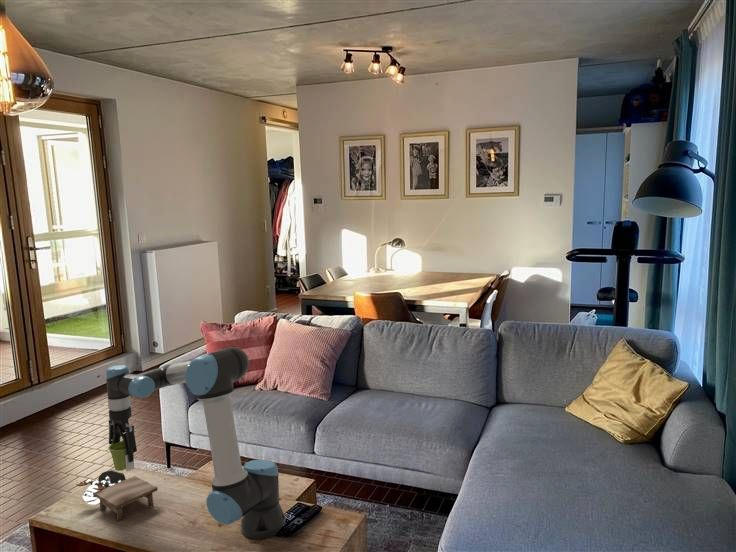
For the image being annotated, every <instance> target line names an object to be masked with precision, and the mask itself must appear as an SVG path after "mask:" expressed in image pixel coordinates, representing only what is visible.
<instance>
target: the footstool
mask: <svg viewBox="0 0 736 552" xmlns="http://www.w3.org/2000/svg"><path fill="white" fill-rule="evenodd" d="M125 479H126V480H124V481H121V482H119V483H116V484H114V485H112V486H109V487H107V488H105V489H103V490H99V491H97V492H95V493H94V496H95V497H97V498H99V499H100V503H99V507H100V508H99V509H100V512H105V511H106V510H107V508H108V509H109V510H111V511H113V512H115V513H116V521H117V522H121V521H123V507H124V506H126V505H128V504H131V503H133V502H135V501H136V500H139V499H142V498H143V497H144V498H146V499H147V507H148V506H149V507H148V508H151V506H152V507H153V506H154V495H153V493H156V492H157V491H158V487H157V486H155V485H153V484H152V483H150V482H148V481H145V480H143V479H142V478H140V477H138V476H135V475H134V476H131V477H129V478H125Z"/></svg>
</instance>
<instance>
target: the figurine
mask: <svg viewBox="0 0 736 552" xmlns="http://www.w3.org/2000/svg"><path fill="white" fill-rule="evenodd" d="M126 479H127V478H126V476H125V474H124V473H123V472H121V471H116V470H115V471H114V470H111V469H110V470H107V471H103V472H101V473H100V475H99V476H98V478H97V479H95V480H92V479H90V478H88V479H87V481H86V480H84V481H83V482H82V481H80V483H76V486H77V487H86V486H87V485H89V484H90V485H89V486H88V487H87V488H86V489H85V490H84V492H83V494H82V499H83V502H84V503H86V504H88V505H91V506H93V505H97V504H100V499H99V498H97V497H95V496H94V493H95V492H97V491H99V490H103V489H105V488H107V487H109V486H112V485H114V484H116V483H119V482H121V481H124V480H126Z"/></svg>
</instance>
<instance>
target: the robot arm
mask: <svg viewBox="0 0 736 552" xmlns="http://www.w3.org/2000/svg"><path fill="white" fill-rule="evenodd" d="M249 368H250V359H249V357H248V355H247V353H246V352H245V351H244V350H243V349H241V348H239V347H235V346H234V347H232V346H231V347H225V348H222V349H218V350H215V351H211V352H209V353H204V354H201V355H200V356H197V357H195V358H193V359H191V360H187V361H184V362H179V363H171V364H167V365H164V366H159V367H158V368H155V369H151V370H148V371H144V372H140V373H137V374H134V373H130V371H129V367H128V366H127V365H123V364H121V365H119V364H118V365H114V366H109V367H108V368H107V369H106V371H105V372H106V375H105V376H106V378H105V381H106V391H107V393H106V394H107V406H108V409H109V410H108V445H111V444H115V443H118V442H120V441H121V438H122V441H123V442H124V446H125V449H126V454H125V459H126V469H125V470H126V472H129V471H132V470H135V459H134V458H135V457H134V456H135V455H133V453H134V454H135V453H136V452H138V451H137V450H138V448H137V442H136V436H135V426H134V424H132V425H131V424H130V421H129V419H130V418H131V417H132V415H133V414H132V407H131V405H132V403H131V398H132V397H134V398H142V399H144V398H148V397H150V395H151V394H153V393H154V391H157V390H159V389H163V388H165V387H166V388H167V387H171V386H174V385H180V384H186V386H187V388H188V389H189V391H190V393H192V394H193V395H195V396H196V400H198V401H199V402H201V403H202V405H203V411H204V417H205V418H204V419H205V424H206V428H207V430H206V431H207V435H208V442H209V446H210V453H211V458H212V465H213V471H214V476H213V478H212V479H211V481H210V484H211V489H212V491H211V492H209V494H208V495H207V497H206V503H205V504H206V508H207V510H208V512H209V514H210V516H211V517H212V518H213V519H214V520H215V521H216V522H218V523H219V524H222V525H226V526H227V525H228V526H229V525H233V524H234V523H235V522H237V521H239V520H240V521H241V522H240V531H241V533H242V535H243V536H245V537H246V538H250V539H254V540H263V539H268V538H269V539H270V538H272V537H274V536H276V535H277V534H276V533H277V532H278V531H279V530H280V529H281V528H282V527H283V525H284V523H285V524H286V516H285V514H284V511H283V508H282V506H281V504H280V489H279V488H280V487H279V485H280V484H279V483H280V482H279V475H280V474H279V469H278V465H277V463H276V462H275V461H272V460H269V459H253V460H250V461H247V462H245V463H244V464H243V465H242V460H241V453H240V447H239V442H238V435H237V429H236V425H235V417H234V413H233V406H232V399H231V396H233V394H234V392H235V389H234V388H235V387H234V383H236V382H237V381H239V380H241V379H242V378H243V377H245V375H247V373H248V371H249ZM242 466H243V467H242Z"/></svg>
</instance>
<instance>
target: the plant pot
mask: <svg viewBox="0 0 736 552" xmlns="http://www.w3.org/2000/svg"><path fill="white" fill-rule="evenodd" d="M107 449H108V451H109V452H110V454H111V457H112V461H113V462H112V463H113V466H114V469H115V471H117V472H121V471H124V470H126V459H125V454H126V449H125V446H124V442H123V440H120V442H118V443H115V444H109V446H108V447H107ZM134 454H135V452H134V453H133V455H134ZM134 456H135V455H134Z"/></svg>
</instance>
